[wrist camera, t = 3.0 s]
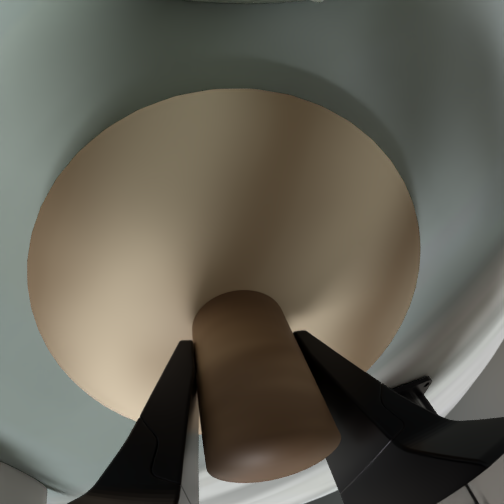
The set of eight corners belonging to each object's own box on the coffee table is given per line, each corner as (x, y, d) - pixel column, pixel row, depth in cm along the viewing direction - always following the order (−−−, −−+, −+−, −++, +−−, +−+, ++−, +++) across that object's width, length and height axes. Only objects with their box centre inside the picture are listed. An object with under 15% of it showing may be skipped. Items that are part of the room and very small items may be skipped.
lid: (435, 128, 9) (566, 169, 4) (354, 395, 16) (396, 473, 10) (12, 113, 6) (-132, 147, 1) (97, 419, 12) (89, 515, 7)
